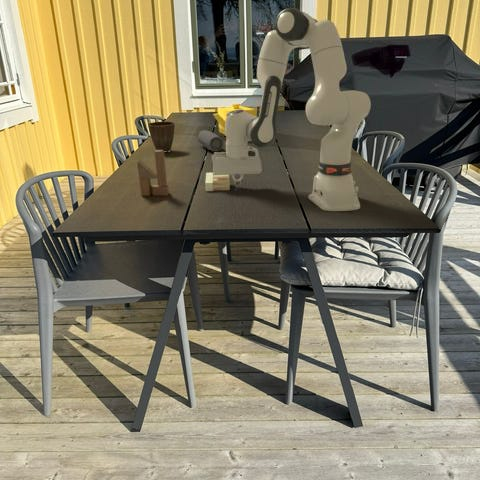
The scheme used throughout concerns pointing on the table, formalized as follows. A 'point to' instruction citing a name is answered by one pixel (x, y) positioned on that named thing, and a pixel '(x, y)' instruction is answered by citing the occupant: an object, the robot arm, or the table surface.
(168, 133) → the plant pot
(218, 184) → the oak block
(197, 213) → the table surface
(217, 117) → the cube teapot
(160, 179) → the wooden block
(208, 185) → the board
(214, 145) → the bluetooth speaker
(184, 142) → the table surface
